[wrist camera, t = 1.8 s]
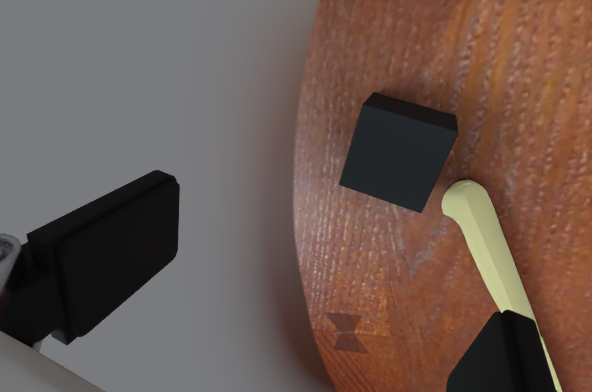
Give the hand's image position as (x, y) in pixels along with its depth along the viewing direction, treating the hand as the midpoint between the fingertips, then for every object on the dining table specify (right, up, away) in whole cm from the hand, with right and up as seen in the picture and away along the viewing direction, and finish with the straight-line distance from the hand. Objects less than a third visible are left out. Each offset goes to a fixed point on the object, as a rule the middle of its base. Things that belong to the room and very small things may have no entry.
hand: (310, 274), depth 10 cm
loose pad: (+6, +6, +12) cm, 15 cm away
